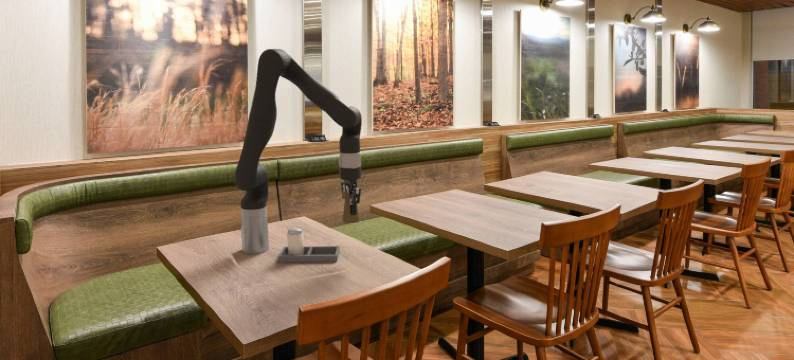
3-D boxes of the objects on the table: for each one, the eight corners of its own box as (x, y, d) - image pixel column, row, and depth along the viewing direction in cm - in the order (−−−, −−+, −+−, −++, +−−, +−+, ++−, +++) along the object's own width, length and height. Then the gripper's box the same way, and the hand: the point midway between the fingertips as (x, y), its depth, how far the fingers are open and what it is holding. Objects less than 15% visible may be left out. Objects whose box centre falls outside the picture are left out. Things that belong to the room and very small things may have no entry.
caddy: (278, 264, 190) (278, 256, 189) (284, 254, 200) (283, 246, 200) (337, 263, 190) (337, 255, 190) (339, 253, 201) (339, 246, 200)
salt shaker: (290, 260, 191) (289, 232, 189) (286, 255, 196) (285, 228, 194) (306, 258, 194) (305, 230, 192) (301, 253, 199) (300, 226, 197)
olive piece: (357, 223, 189) (356, 192, 187) (340, 222, 190) (339, 191, 188) (361, 218, 195) (361, 188, 192) (345, 218, 196) (344, 188, 194)
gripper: (332, 163, 193) (334, 210, 196) (347, 169, 181) (348, 219, 184) (352, 161, 196) (353, 207, 200) (368, 167, 184) (368, 216, 187)
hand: (351, 213), depth 192 cm, fingers closed on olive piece, 4 cm apart
